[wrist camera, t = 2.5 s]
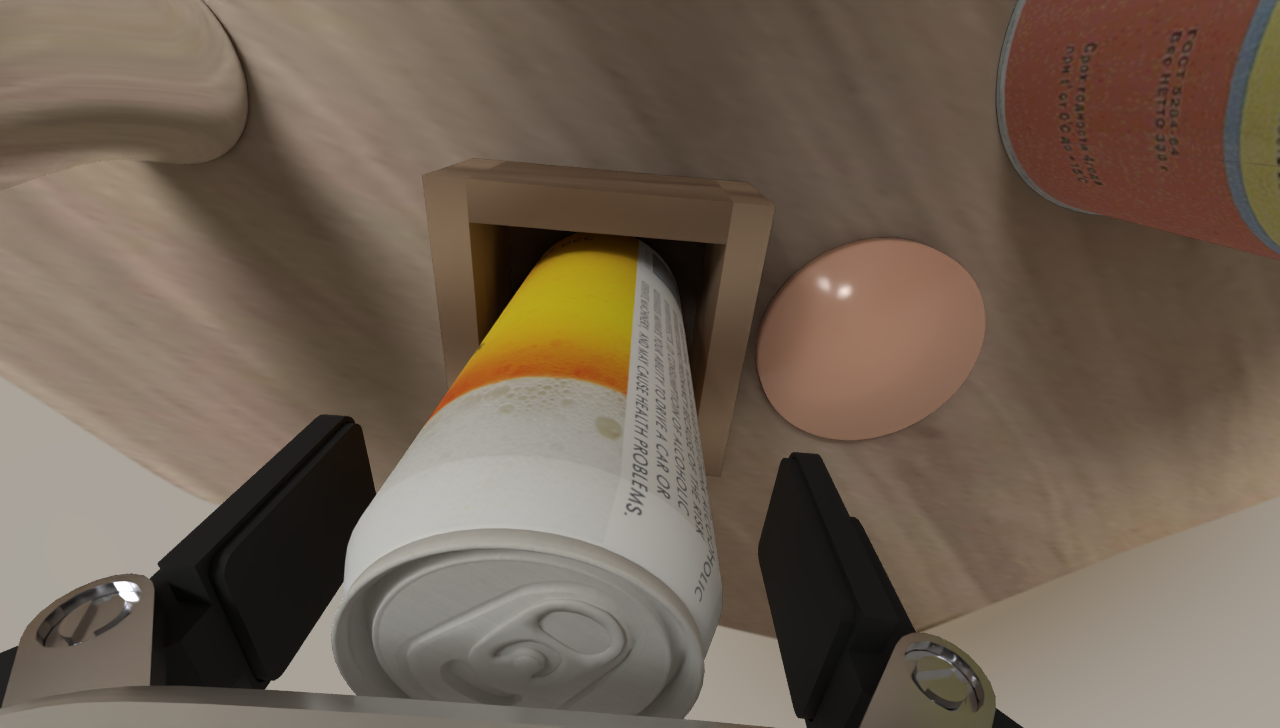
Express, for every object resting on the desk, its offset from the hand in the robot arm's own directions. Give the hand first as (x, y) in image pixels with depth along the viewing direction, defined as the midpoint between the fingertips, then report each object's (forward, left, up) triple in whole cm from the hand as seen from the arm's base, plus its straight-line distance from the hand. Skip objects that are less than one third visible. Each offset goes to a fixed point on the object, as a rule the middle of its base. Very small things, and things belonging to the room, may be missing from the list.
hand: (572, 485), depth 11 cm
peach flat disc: (+1, +11, -11) cm, 15 cm away
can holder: (0, 0, -11) cm, 11 cm away
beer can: (0, 0, -11) cm, 11 cm away
